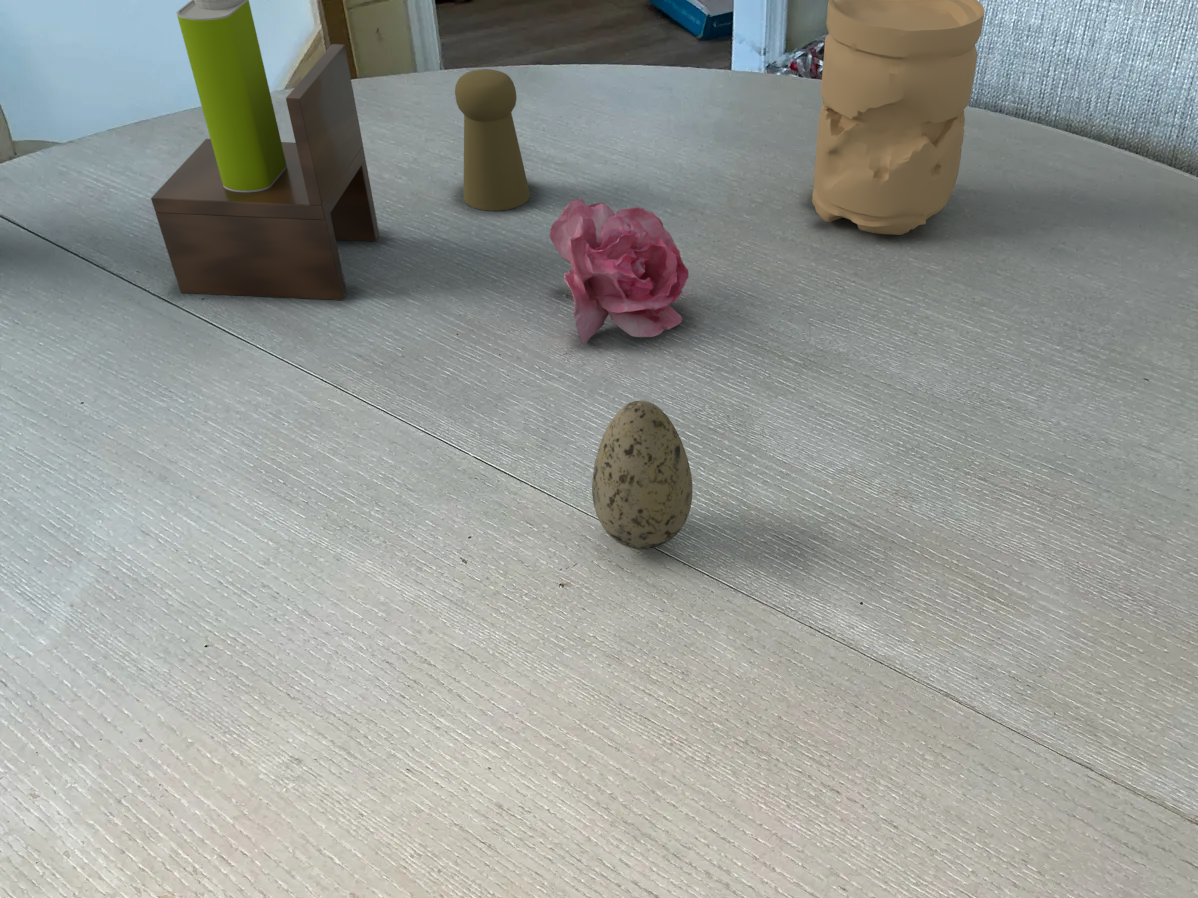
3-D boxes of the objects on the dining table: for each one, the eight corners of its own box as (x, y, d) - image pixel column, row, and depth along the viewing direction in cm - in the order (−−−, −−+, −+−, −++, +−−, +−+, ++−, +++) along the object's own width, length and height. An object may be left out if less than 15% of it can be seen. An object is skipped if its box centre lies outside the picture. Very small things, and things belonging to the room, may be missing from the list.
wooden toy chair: (180, 292, 93) (116, 90, 83) (230, 228, 101) (178, 37, 91) (342, 300, 93) (299, 98, 82) (379, 235, 101) (344, 44, 91)
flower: (698, 350, 95) (712, 297, 85) (577, 376, 93) (577, 324, 83) (662, 223, 97) (672, 158, 87) (544, 246, 95) (540, 181, 85)
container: (784, 201, 108) (797, -6, 96) (889, 172, 113) (914, -28, 101) (870, 258, 100) (896, 40, 88) (979, 223, 105) (1018, 13, 93)
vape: (292, 160, 93) (229, -122, 80) (265, 193, 89) (193, -100, 76) (246, 158, 93) (175, -125, 80) (217, 190, 89) (136, -103, 76)
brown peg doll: (485, 217, 104) (470, 92, 97) (451, 192, 108) (434, 71, 100) (543, 198, 107) (533, 76, 100) (507, 175, 111) (495, 56, 103)
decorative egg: (616, 582, 70) (610, 447, 63) (581, 522, 74) (571, 389, 67) (707, 555, 72) (710, 421, 65) (668, 498, 76) (667, 366, 69)
